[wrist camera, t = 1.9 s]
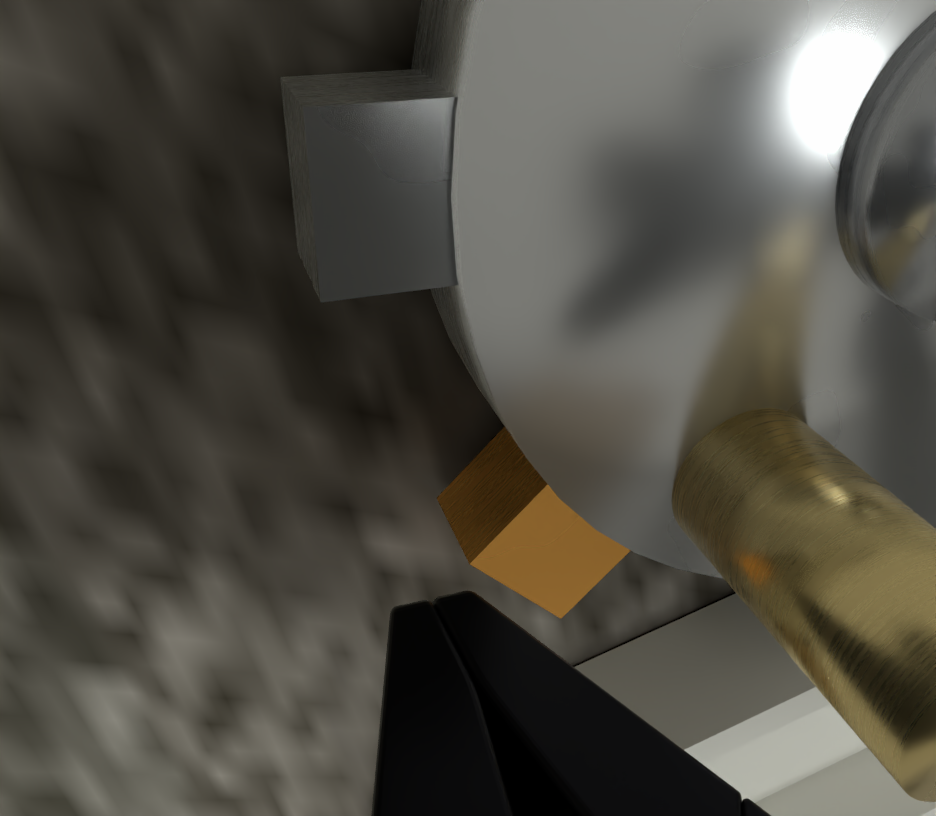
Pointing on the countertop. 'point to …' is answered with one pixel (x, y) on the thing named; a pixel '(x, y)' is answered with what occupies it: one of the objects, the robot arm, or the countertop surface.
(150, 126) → the countertop surface
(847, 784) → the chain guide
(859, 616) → the sprocket
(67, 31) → the countertop surface
